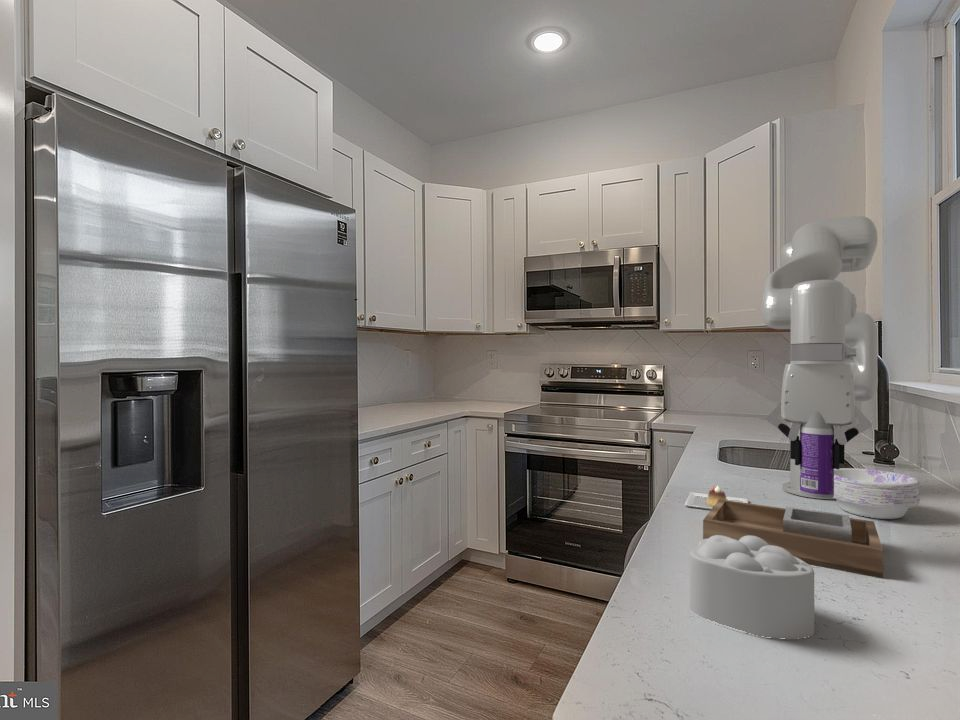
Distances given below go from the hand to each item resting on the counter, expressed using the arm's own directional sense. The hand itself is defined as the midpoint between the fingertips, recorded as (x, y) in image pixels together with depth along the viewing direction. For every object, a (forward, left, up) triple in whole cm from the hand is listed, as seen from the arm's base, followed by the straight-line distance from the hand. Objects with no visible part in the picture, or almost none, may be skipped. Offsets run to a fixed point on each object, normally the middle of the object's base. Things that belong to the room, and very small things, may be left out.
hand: (816, 464), depth 83 cm
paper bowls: (-31, +9, -14) cm, 36 cm away
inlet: (0, 0, -14) cm, 14 cm away
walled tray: (0, -4, -14) cm, 15 cm away
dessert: (-20, -18, -15) cm, 31 cm away
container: (0, 0, -5) cm, 5 cm away
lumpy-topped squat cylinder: (+30, -6, -14) cm, 34 cm away
